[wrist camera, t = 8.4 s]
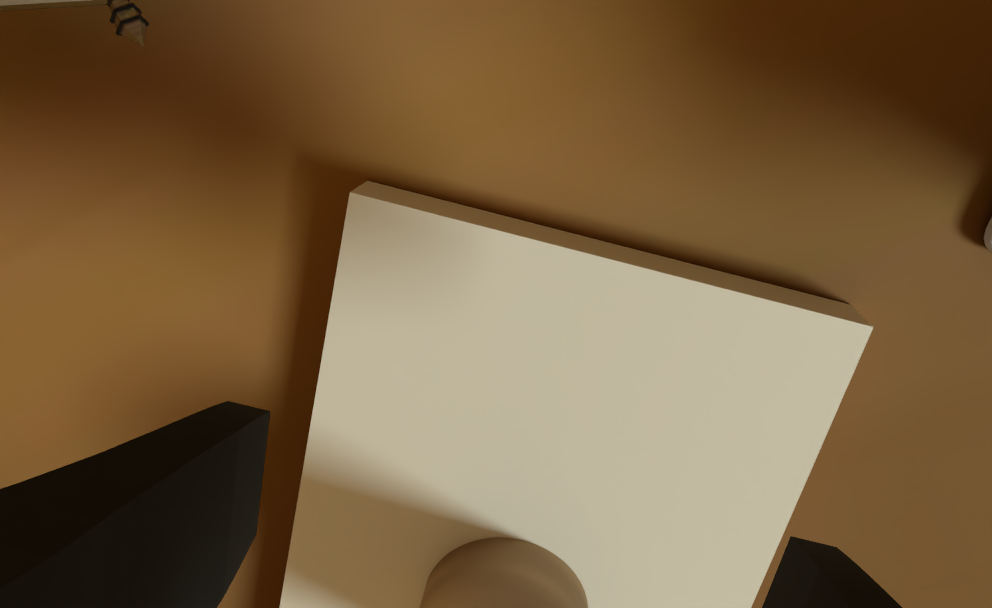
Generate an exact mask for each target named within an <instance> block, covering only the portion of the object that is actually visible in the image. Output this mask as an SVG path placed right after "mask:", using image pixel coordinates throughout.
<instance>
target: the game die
mask: <svg viewBox="0 0 992 608" xmlns="http://www.w3.org/2000/svg"><path fill="white" fill-rule="evenodd" d="M94 5H108V6H109V7H110V9H111V14H112V15H111V18H110V22H111V23H115V25H116V27H117V31H116V34H117V35H123V36H125V37H127V38H129V39H130V40H132V41H134V42H136V43H138V44H140V45H141V46H143V47H144V42H145V33H146V27H147V26H148V25H149V23H148V22H147V21H146V20H145V19H144V18H143V17H142V16H141V15H140V14H141V13H142V12H141V11H140V9H139V8H138V7H136V6H135V5H134V4H133V3H130V2H129V0H0V11H10V10H27V9H44V8H60V7H77V6H94Z"/></svg>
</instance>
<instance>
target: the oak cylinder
mask: <svg viewBox="0 0 992 608" xmlns="http://www.w3.org/2000/svg"><path fill="white" fill-rule="evenodd" d="M420 608H588V602H587V597H586V594H585V591H584V588H583V586H582V584H581V582H580V580H579V579H578V577H577V576H576V574H575V573H574V572H573V570H572V569H571V568H570V567H569V566H568V565H567V564H566V563H565V562H564V561H563V560H562V559H560V558H559V557H558V556H556V555H555V554H553V553H552V552H550V551H548V550H547V549H545V548H543V547H541V546H538V545H536V544H533V543H530V542H527V541H523V540H519V539H513V538H500V537H499V538H486V539H480V540H476V541H472V542H469V543H466V544H464V545H462V546H459V547H458V548H456V549H454V550H453V551H451V552H449V553H448V554H447V555H446V556H445V557H443V558H442V559H441V560H440V561H439V562H438V564H437V565H436V566H435V567H434V569H433V570H432V572H431V574H430V576H429V578H428V580H427V583H426V587H425V590H424V594H423V597H422V601H421V604H420Z"/></svg>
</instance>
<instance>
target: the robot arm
mask: <svg viewBox="0 0 992 608" xmlns="http://www.w3.org/2000/svg"><path fill="white" fill-rule="evenodd" d="M984 242H985V246H986V247H987V249H988V250H989V251H990V252H991V253H992V217H991V219H990V221H989V223H988V226H987V228H986V230H985V234H984ZM269 418H270V411H267V410H262V409H258V408H254V407H250V406H246V405H242V404H237V403H233V402H229V401H227V402H224V403H221V404H218V405H215V406H212V407H210V408H207V409H205V410H202V411H200V412H197V413H195V414H192V415H190V416H188V417H185V418H183V419H181V420H178V421H176V422H173V423H171V424H169V425H166V426H164V427H162V428H159V429H157V430H155V431H152V432H150V433H147V434H145V435H143V436H140V437H138V438H135V439H133V440H130V441H128V442H126V443H123V444H121V445H118V446H116V447H114V448H111V449H109V450H106V451H104V452H101V453H99V454H96V455H94V456H91V457H88V458H85V459H83V460H80V461H77V462H75V463H72V464H69V465H66V466H64V467H61V468H58V469H56V470H53V471H50V472H47V473H45V474H42V475H39V476H37V477H34V478H31V479H28V480H26V481H23V482H20V483H17V484H14V485H11V486H8V487H5V488H2V489H0V608H217V606H218V605H219V603H220V602H221V600H222V599H223V597H224V595H225V593H226V592H227V590H228V588H229V586H230V584H231V582H232V580H233V579H234V577H235V575H236V573H237V571H238V569H239V567H240V565H241V563H242V561H243V559H244V557H245V555H246V553H247V551H248V549H249V547H250V546H251V544H252V542H253V540H254V538H255V536H256V531H257V522H258V514H259V505H260V496H261V487H262V479H263V470H264V461H265V453H266V444H267V435H268V427H269ZM762 608H902V607H901V606H900V605H899V604H898V603H897V602H896V601H895V600H894V599H893V598H892V597H891V596H890V595H889V594H888V593H887V592H886V591H885V590H884V589H882V588H881V587H880V586H879V585H878V584H877V583H876V582H875V581H874V580H873V579H872V578H871V577H870V576H869V575H868V574H867V573H866V572H865V571H863V570H862V569H861V568H860V567H859V566H858V565H857V564H856V563H855V562H854V561H852V560H851V559H850V558H849V557H848V556H847V555H845V554H844V553H843V552H842V551H840V550H839V549H838V548H837V547H833V546H829V545H825V544H821V543H816V542H812V541H808V540H804V539H800V538H796V537H790V540H789V542H788V545H787V547H786V550H785V552H784V555H783V557H782V560H781V562H780V565H779V567H778V569H777V572H776V574H775V577H774V579H773V582H772V584H771V587H770V589H769V592H768V594H767V597H766V599H765V602H764V604H763V607H762Z"/></svg>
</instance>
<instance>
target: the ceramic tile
mask: <svg viewBox="0 0 992 608" xmlns="http://www.w3.org/2000/svg"><path fill="white" fill-rule="evenodd" d="M872 329H873V326H872V325H871V324H870V323H869V322H868V321H867V320H866V319H865V318H864V317H863V316H862V315H861V314H860V313H859V312H858V311H857V310H856V309H855V308H854V307H853V306H852V305H850V304H846V303H842V302H838V301H834V300H830V299H827V298H823V297H819V296H815V295H811V294H807V293H803V292H799V291H795V290H791V289H788V288H784V287H780V286H776V285H772V284H768V283H764V282H760V281H756V280H753V279H749V278H745V277H741V276H737V275H733V274H729V273H725V272H721V271H717V270H714V269H710V268H706V267H702V266H698V265H694V264H690V263H686V262H682V261H679V260H675V259H671V258H667V257H663V256H659V255H655V254H651V253H647V252H643V251H640V250H636V249H632V248H628V247H624V246H620V245H616V244H612V243H608V242H605V241H601V240H597V239H593V238H589V237H585V236H581V235H577V234H573V233H569V232H566V231H562V230H558V229H554V228H550V227H546V226H542V225H538V224H534V223H531V222H527V221H523V220H519V219H515V218H511V217H507V216H503V215H499V214H496V213H492V212H488V211H484V210H480V209H476V208H472V207H468V206H464V205H460V204H457V203H453V202H449V201H445V200H441V199H437V198H433V197H429V196H425V195H422V194H418V193H414V192H410V191H406V190H402V189H398V188H394V187H390V186H386V185H383V184H379V183H375V182H371V181H366V182H365V183H363V184H362V185H360V186H359V187H357V188H355V189H354V190H352V191H351V192H350V194H349V199H348V205H347V211H346V217H345V223H344V229H343V235H342V241H341V247H340V253H339V259H338V264H337V270H336V276H335V282H334V288H333V294H332V300H331V306H330V312H329V318H328V323H327V329H326V335H325V341H324V347H323V353H322V359H321V365H320V371H319V377H318V383H317V388H316V394H315V400H314V406H313V412H312V418H311V424H310V430H309V436H308V442H307V448H306V453H305V459H304V465H303V471H302V477H301V483H300V489H299V495H298V501H297V507H296V512H295V518H294V524H293V530H292V536H291V542H290V548H289V554H288V560H287V566H286V572H285V577H284V583H283V589H282V595H281V601H280V607H279V608H420V604H421V601H422V597H423V594H424V590H425V587H426V583H427V580H428V578H429V576H430V574H431V572H432V570H433V569H434V567H435V566H436V565H437V564H438V562H439V561H440V560H441V559H442V558H443V557H445V556H446V555H447V554H448V553H449V552H451V551H453V550H454V549H456V548H458V547H459V546H462V545H464V544H466V543H469V542H472V541H476V540H480V539H486V538H499V537H500V538H513V539H519V540H523V541H527V542H530V543H533V544H536V545H538V546H541V547H543V548H545V549H547V550H548V551H550V552H552V553H553V554H555V555H556V556H558V557H559V558H560V559H562V560H563V561H564V562H565V563H566V564H567V565H568V566H569V567H570V568H571V569H572V570H573V572H574V573H575V574H576V576H577V577H578V579H579V580H580V582H581V584H582V586H583V588H584V591H585V594H586V597H587V602H588V608H751V606H752V604H753V602H754V600H755V597H756V595H757V593H758V590H759V588H760V586H761V584H762V581H763V579H764V577H765V574H766V572H767V570H768V568H769V565H770V563H771V561H772V558H773V556H774V554H775V551H776V549H777V547H778V545H779V542H780V540H781V538H782V535H783V533H784V531H785V529H786V526H787V524H788V522H789V519H790V517H791V515H792V513H793V510H794V508H795V506H796V503H797V501H798V499H799V497H800V494H801V492H802V490H803V487H804V485H805V483H806V480H807V478H808V476H809V474H810V471H811V469H812V467H813V464H814V462H815V460H816V458H817V455H818V453H819V451H820V448H821V446H822V444H823V442H824V439H825V437H826V435H827V432H828V430H829V428H830V426H831V423H832V421H833V419H834V416H835V414H836V412H837V409H838V407H839V405H840V403H841V400H842V398H843V396H844V393H845V391H846V389H847V387H848V384H849V382H850V380H851V377H852V375H853V373H854V371H855V368H856V366H857V364H858V361H859V359H860V357H861V355H862V352H863V350H864V348H865V345H866V343H867V341H868V338H869V336H870V334H871V332H872Z"/></svg>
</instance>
